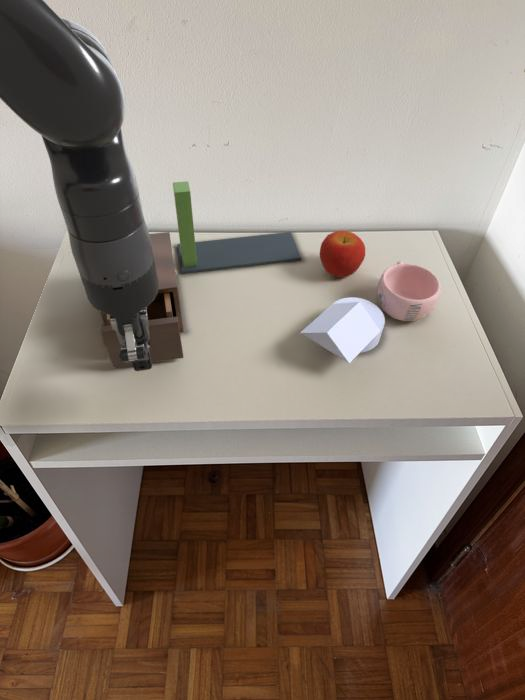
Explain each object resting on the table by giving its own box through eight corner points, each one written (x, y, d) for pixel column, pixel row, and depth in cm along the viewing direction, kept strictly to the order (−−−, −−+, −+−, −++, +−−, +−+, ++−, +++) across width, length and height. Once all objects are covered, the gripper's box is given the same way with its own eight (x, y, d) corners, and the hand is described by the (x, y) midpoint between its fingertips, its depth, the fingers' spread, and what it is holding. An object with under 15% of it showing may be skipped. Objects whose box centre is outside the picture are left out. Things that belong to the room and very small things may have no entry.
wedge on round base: (345, 377, 75) (390, 330, 81) (353, 348, 69) (400, 300, 76) (298, 347, 78) (345, 304, 85) (302, 317, 73) (351, 274, 80)
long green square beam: (183, 267, 89) (174, 192, 78) (181, 256, 91) (172, 182, 80) (197, 265, 90) (190, 191, 78) (195, 255, 91) (188, 181, 80)
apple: (366, 282, 89) (375, 247, 83) (324, 288, 87) (330, 252, 81) (352, 255, 94) (359, 220, 88) (312, 260, 92) (316, 225, 86)
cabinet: (183, 331, 80) (177, 287, 72) (109, 341, 78) (95, 297, 71) (175, 276, 88) (169, 231, 81) (108, 284, 87) (96, 239, 79)
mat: (182, 274, 89) (181, 271, 88) (177, 246, 94) (177, 244, 93) (300, 260, 92) (301, 257, 92) (290, 234, 97) (290, 231, 97)
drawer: (184, 364, 74) (179, 328, 68) (113, 374, 73) (101, 338, 67) (175, 301, 83) (170, 265, 77) (111, 309, 81) (101, 272, 75)
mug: (439, 327, 82) (451, 301, 77) (380, 330, 81) (388, 303, 77) (419, 279, 90) (428, 253, 85) (365, 280, 89) (371, 254, 84)
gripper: (78, 223, 54) (112, 332, 67) (74, 308, 45) (113, 414, 58) (149, 216, 55) (168, 325, 68) (157, 298, 46) (178, 403, 59)
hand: (143, 366), depth 63 cm, fingers closed
